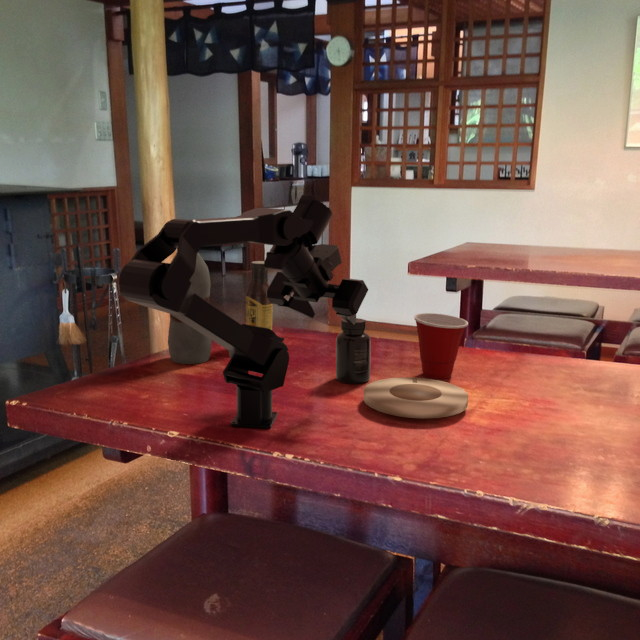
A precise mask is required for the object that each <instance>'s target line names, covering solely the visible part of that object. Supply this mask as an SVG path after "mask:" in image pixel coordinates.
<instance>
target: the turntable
mask: <svg viewBox="0 0 640 640" xmlns="http://www.w3.org/2000/svg"><path fill="white" fill-rule="evenodd" d="M363 402H364V404H365V405H367V406H368V407H369V408H371V409H373V410H375V411H377V412H381V413H383V414H387V415H391V416H396V417H401V418H402V417H403V418H410V419H411V418H412V419H439V418H446V417H452V416H455V415H459V414H461V413H462V412H464V411H466V409H467V408H468V404H469V395H468V392H467V391H466V390H465V389H463V388H462V387H460V386H458V385H455V384H453V383H450V382H446V381H443V380H440V379H434V378H427V377H426V378H424V377H415V376H414V377H413V376H411V377H410V376H407V377H404V376H403V377H388V378H383V379H379V380H374V381H372V382H370V383H368V384H366V385H365V386H364V389H363Z"/></svg>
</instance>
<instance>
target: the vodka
mask: <svg viewBox="0 0 640 640" xmlns="http://www.w3.org/2000/svg"><path fill="white" fill-rule="evenodd" d="M176 256H177V252H176V253H175V255H174V256H173V258H172V260H171V261H170V264H171V263H172V262H173V260H174V259H175V257H176ZM209 270H210V269H209V267H208V265H207V264H206V262H205V260H204V259H203V257H202V256H201V254H200V253H199V252H198V253H197V258H196V267H195V272H194V274H193V275H192V277H191V278H190V281H191V282H192V286H193V289H194V292H195V293H196V294H197V295H199V296H200V297H202V298H203V299H205V300H206V301H208V302H209V303H210V297H211V285H212V283H211V276H210V271H209ZM167 338H168V339H167V347H168V353H169V356H170V359H171V361H172V362H174V363H176V364H180V365H197V364H202V363H206V362H208V361H209V359H210V357H211V353H212V344H213V343H212V342H213V340H211V339H209V338H208V337H206V336H205V335H203V334H201V333H200V332H198V331H197V330H195V329H193V328H192V327H190V326H189V325H187V324H185V323H184V322H182V321H180V320H179V319H177V318H176V317H174V316H172V315H171V314H169V327H168V336H167Z"/></svg>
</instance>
